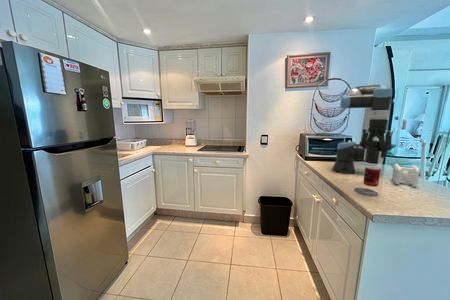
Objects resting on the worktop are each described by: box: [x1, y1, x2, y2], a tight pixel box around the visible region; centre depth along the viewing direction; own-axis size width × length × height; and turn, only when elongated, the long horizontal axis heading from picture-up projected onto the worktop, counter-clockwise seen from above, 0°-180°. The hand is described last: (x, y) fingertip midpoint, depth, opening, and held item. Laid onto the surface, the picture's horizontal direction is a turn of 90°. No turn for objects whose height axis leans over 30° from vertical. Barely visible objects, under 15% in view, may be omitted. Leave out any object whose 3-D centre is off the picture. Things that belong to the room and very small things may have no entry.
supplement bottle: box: [364, 139, 381, 165], centre depth 102 cm, size 7×7×12 cm
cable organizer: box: [391, 163, 421, 188], centre depth 120 cm, size 15×11×12 cm
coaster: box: [353, 187, 379, 197], centre depth 107 cm, size 11×11×1 cm
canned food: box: [363, 165, 382, 187], centre depth 119 cm, size 8×8×11 cm
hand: (372, 161), depth 103 cm, fingers closed on supplement bottle, 7 cm apart
